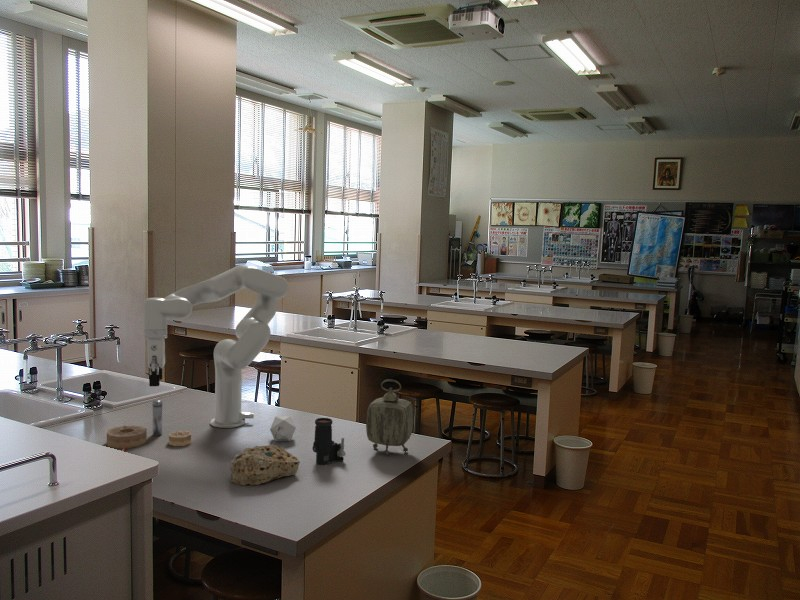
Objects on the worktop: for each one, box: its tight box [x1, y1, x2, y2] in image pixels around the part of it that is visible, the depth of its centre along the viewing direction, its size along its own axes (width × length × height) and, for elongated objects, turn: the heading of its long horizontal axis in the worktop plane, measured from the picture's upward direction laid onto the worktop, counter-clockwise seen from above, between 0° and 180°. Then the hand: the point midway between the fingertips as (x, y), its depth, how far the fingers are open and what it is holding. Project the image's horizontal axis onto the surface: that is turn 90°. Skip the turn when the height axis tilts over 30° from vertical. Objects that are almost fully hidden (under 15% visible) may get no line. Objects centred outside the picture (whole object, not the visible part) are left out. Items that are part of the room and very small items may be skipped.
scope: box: [312, 417, 346, 466], centre depth 204 cm, size 8×14×10 cm
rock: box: [229, 444, 301, 486], centre depth 191 cm, size 21×14×10 cm
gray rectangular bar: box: [151, 399, 163, 437], centre depth 224 cm, size 3×3×12 cm
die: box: [269, 415, 297, 442], centre depth 224 cm, size 8×9×10 cm
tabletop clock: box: [365, 378, 415, 456], centre depth 215 cm, size 14×9×25 cm, turn 74°
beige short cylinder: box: [168, 430, 192, 447], centre depth 217 cm, size 7×7×3 cm
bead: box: [106, 424, 148, 449], centre depth 215 cm, size 12×12×4 cm
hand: (155, 382), depth 223 cm, fingers open, 9 cm apart
